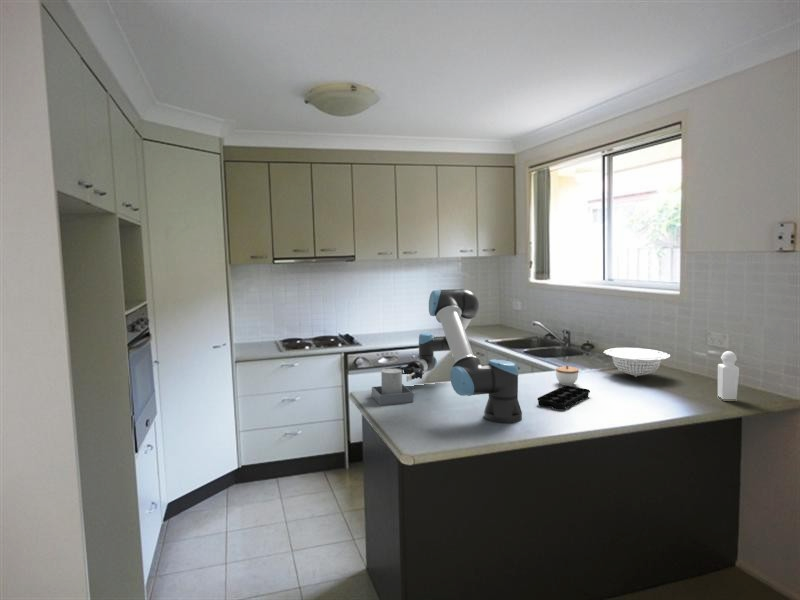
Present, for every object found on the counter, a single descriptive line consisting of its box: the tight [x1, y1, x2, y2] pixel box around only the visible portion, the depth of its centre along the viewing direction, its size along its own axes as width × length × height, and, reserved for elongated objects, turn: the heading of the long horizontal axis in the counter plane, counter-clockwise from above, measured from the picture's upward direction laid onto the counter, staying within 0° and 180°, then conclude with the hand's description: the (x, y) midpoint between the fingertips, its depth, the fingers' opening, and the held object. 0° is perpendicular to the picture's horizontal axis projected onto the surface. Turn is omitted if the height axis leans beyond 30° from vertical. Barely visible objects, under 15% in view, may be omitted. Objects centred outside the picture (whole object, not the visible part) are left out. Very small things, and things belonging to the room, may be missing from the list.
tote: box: [371, 383, 414, 406], centre depth 243 cm, size 15×15×4 cm
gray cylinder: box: [380, 367, 403, 395], centre depth 243 cm, size 10×10×12 cm
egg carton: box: [537, 385, 590, 411], centre depth 237 cm, size 18×30×4 cm, turn 150°
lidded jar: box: [555, 365, 579, 386], centre depth 266 cm, size 11×11×9 cm
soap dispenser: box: [717, 350, 740, 400], centre depth 234 cm, size 6×6×22 cm
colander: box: [603, 347, 671, 378], centre depth 277 cm, size 32×32×13 cm
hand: (394, 377), depth 246 cm, fingers open, 13 cm apart
